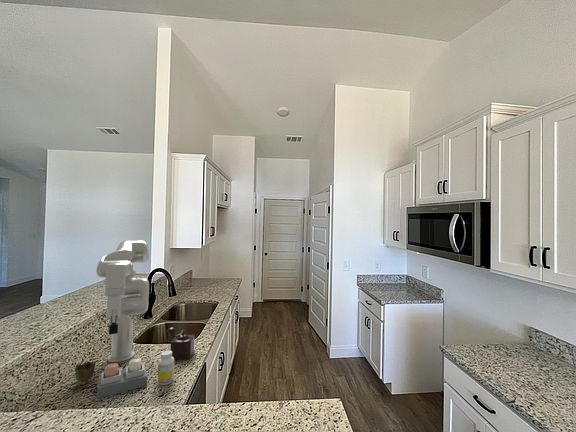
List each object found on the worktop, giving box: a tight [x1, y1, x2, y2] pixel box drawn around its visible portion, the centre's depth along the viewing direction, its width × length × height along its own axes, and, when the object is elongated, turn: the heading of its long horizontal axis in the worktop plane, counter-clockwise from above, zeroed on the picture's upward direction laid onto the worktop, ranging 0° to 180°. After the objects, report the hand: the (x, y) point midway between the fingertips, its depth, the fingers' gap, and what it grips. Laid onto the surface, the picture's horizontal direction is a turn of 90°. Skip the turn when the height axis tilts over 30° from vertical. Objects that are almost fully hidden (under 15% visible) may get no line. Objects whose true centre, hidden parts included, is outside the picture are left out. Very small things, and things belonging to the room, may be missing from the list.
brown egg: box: [104, 362, 119, 378], centre depth 116 cm, size 5×5×5 cm
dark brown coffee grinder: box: [167, 324, 195, 361], centre depth 145 cm, size 16×11×18 cm
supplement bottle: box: [157, 350, 175, 386], centre depth 122 cm, size 7×7×13 cm
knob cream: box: [128, 358, 142, 372], centre depth 121 cm, size 5×5×5 cm
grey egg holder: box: [96, 362, 148, 399], centre depth 119 cm, size 12×18×6 cm, turn 122°
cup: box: [74, 361, 96, 386], centre depth 119 cm, size 8×7×8 cm
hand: (113, 333), depth 118 cm, fingers closed
